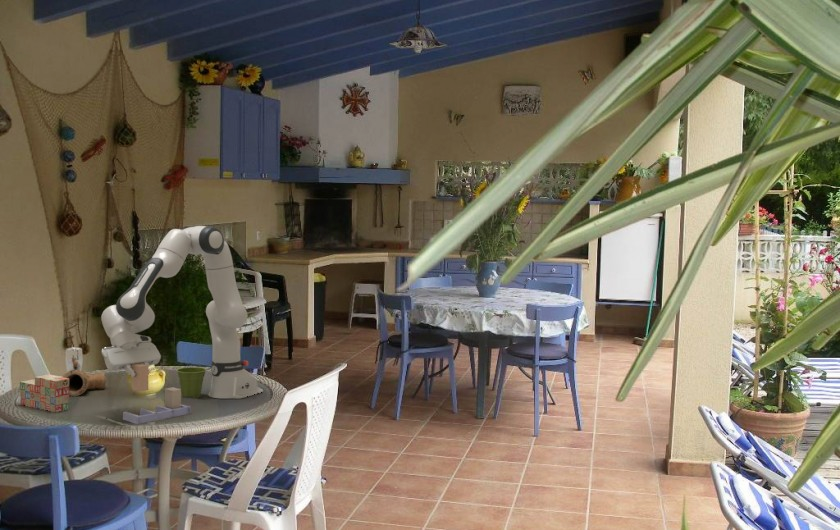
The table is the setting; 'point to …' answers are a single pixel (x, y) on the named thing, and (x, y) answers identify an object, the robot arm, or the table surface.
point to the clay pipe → (84, 381)
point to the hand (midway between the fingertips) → (141, 375)
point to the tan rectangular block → (140, 377)
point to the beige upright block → (172, 398)
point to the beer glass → (74, 359)
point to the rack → (156, 414)
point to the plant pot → (191, 381)
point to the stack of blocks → (46, 393)
